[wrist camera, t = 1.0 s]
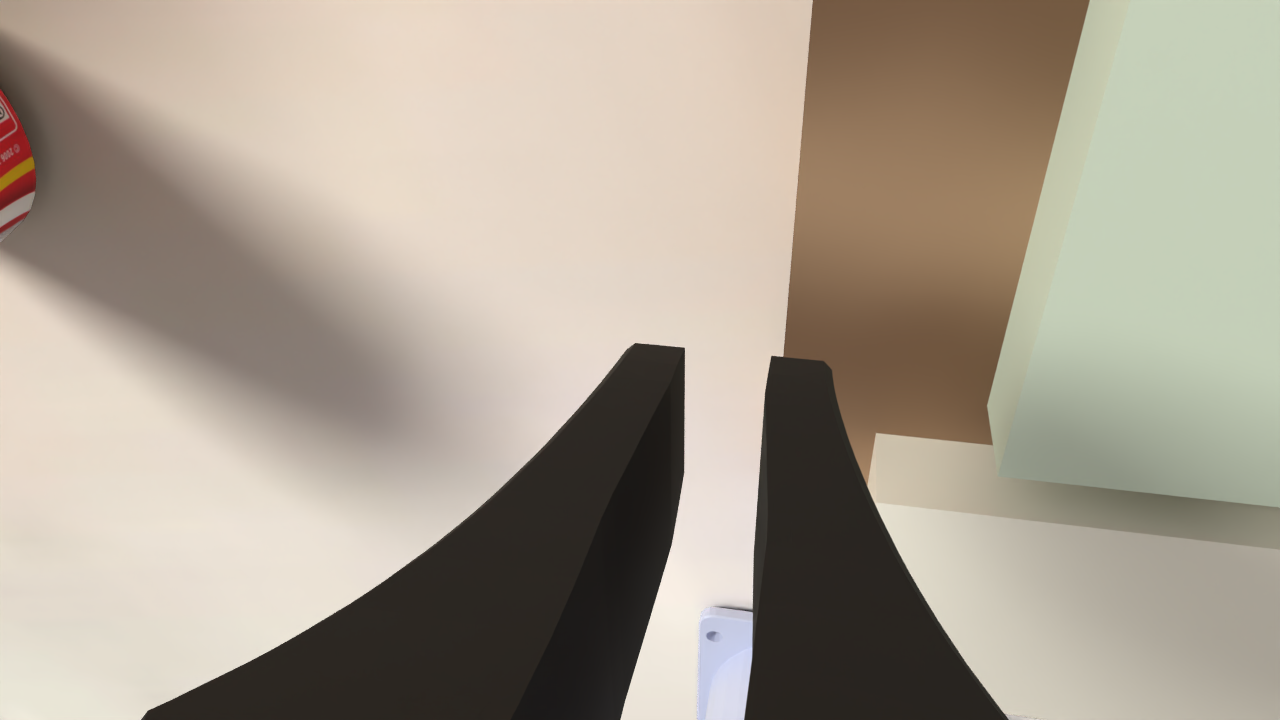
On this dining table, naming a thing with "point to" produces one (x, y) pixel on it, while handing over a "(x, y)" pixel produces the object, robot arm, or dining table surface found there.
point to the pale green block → (1154, 263)
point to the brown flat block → (921, 201)
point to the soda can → (14, 170)
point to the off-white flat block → (1088, 587)
